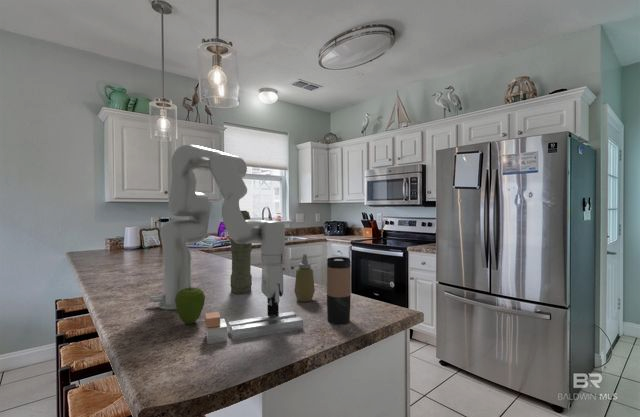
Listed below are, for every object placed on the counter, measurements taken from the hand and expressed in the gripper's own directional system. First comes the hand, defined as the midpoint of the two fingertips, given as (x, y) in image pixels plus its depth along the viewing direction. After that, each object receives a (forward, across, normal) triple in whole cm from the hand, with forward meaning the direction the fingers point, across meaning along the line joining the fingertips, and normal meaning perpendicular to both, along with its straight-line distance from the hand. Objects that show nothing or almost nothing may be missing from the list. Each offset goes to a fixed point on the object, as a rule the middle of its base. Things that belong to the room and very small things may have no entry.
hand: (273, 316), depth 102 cm
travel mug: (+2, +8, +20) cm, 21 cm away
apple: (+2, -9, -24) cm, 26 cm away
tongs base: (+2, +6, -7) cm, 9 cm away
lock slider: (-3, +6, -19) cm, 20 cm away
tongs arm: (+2, +3, -4) cm, 5 cm away
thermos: (+2, -41, -3) cm, 41 cm away
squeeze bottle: (+2, -18, +18) cm, 26 cm away
